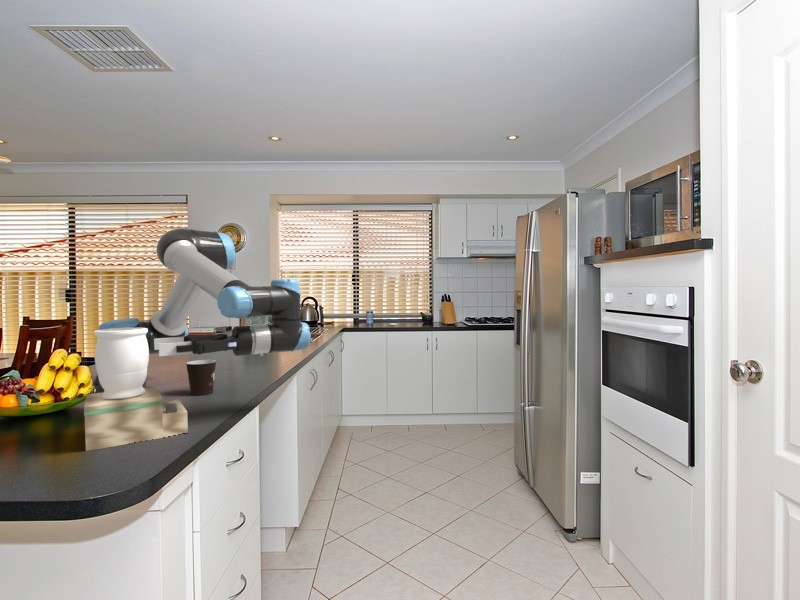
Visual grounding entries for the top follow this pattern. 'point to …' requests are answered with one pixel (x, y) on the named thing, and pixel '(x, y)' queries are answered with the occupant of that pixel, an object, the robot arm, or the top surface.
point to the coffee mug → (201, 376)
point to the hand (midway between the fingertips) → (156, 347)
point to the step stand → (131, 419)
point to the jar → (121, 361)
